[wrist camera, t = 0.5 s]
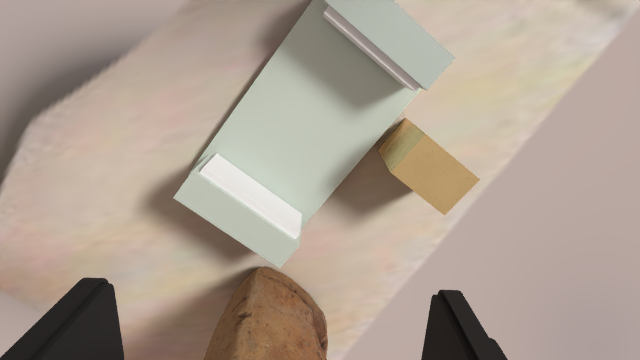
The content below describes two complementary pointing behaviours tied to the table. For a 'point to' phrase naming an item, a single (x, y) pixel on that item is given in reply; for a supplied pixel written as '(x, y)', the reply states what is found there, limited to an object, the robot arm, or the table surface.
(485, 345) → the robot arm
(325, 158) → the vise body
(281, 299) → the block
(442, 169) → the tan rectangular workpiece
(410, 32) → the sliding jaw
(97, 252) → the table surface
